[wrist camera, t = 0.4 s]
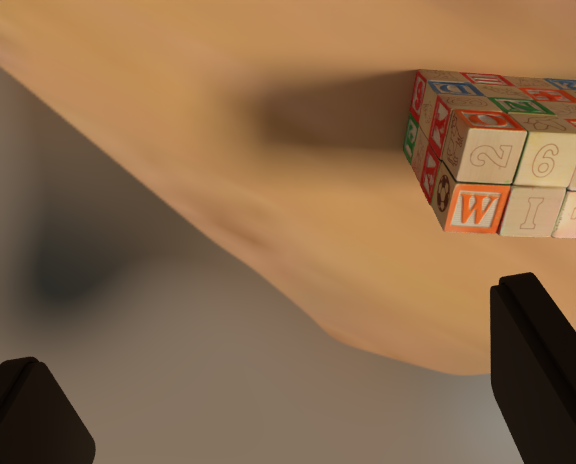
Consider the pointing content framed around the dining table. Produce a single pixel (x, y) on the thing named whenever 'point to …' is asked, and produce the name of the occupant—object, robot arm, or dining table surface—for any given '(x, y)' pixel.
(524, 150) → the stack of blocks
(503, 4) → the dining table surface
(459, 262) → the dining table surface
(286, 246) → the dining table surface
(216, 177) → the dining table surface
